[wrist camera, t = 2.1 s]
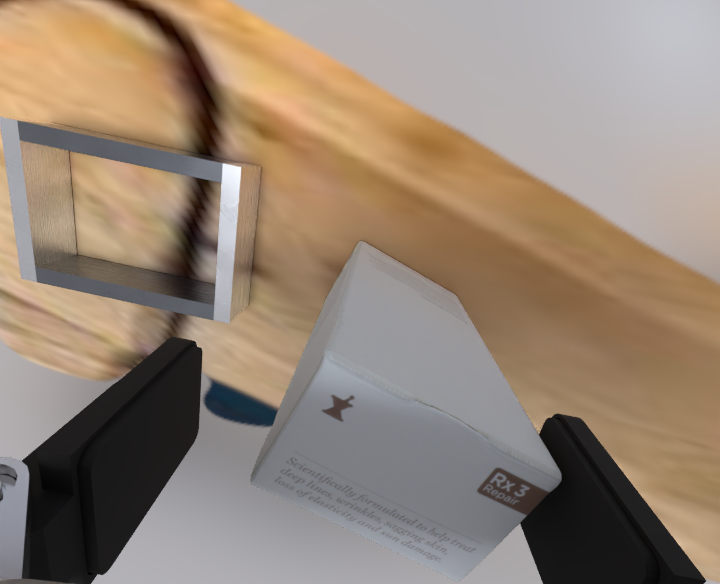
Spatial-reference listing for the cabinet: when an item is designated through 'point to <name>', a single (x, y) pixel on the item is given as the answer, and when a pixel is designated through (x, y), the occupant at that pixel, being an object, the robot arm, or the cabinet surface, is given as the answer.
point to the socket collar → (68, 270)
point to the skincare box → (405, 423)
